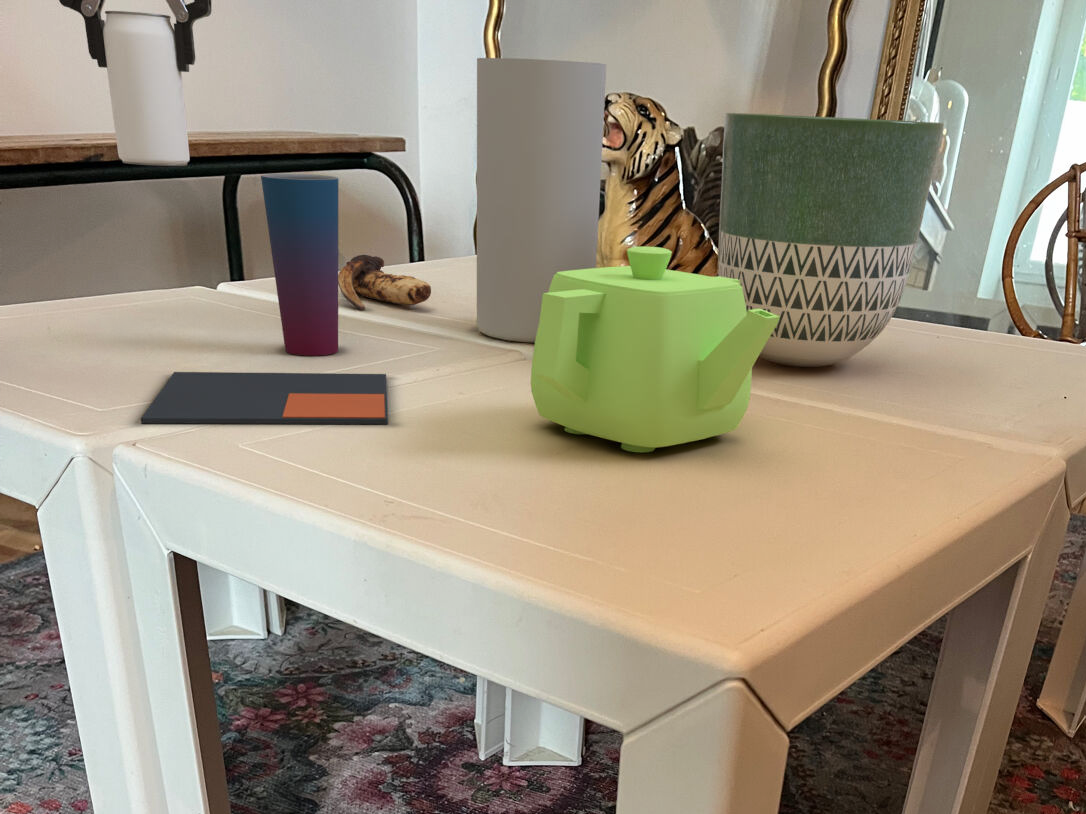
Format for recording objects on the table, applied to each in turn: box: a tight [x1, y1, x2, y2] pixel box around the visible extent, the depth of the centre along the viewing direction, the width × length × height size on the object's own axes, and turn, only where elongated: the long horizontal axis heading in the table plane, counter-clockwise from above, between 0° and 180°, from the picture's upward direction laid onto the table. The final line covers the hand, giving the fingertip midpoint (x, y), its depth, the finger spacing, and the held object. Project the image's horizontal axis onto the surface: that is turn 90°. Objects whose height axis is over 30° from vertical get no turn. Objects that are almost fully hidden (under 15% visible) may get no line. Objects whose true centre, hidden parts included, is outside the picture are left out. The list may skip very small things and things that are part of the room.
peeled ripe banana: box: [338, 254, 432, 311], centre depth 133 cm, size 9×5×18 cm
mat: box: [140, 371, 389, 425], centre depth 91 cm, size 18×16×1 cm
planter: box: [717, 112, 945, 368], centre depth 107 cm, size 20×20×21 cm
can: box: [103, 10, 191, 167], centre depth 104 cm, size 6×6×12 cm
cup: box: [260, 173, 339, 357], centre depth 104 cm, size 7×7×15 cm
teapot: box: [530, 246, 780, 453], centre depth 81 cm, size 18×20×13 cm
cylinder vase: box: [476, 57, 607, 344], centre depth 115 cm, size 12×12×25 cm
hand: (144, 68), depth 103 cm, fingers closed on can, 6 cm apart
